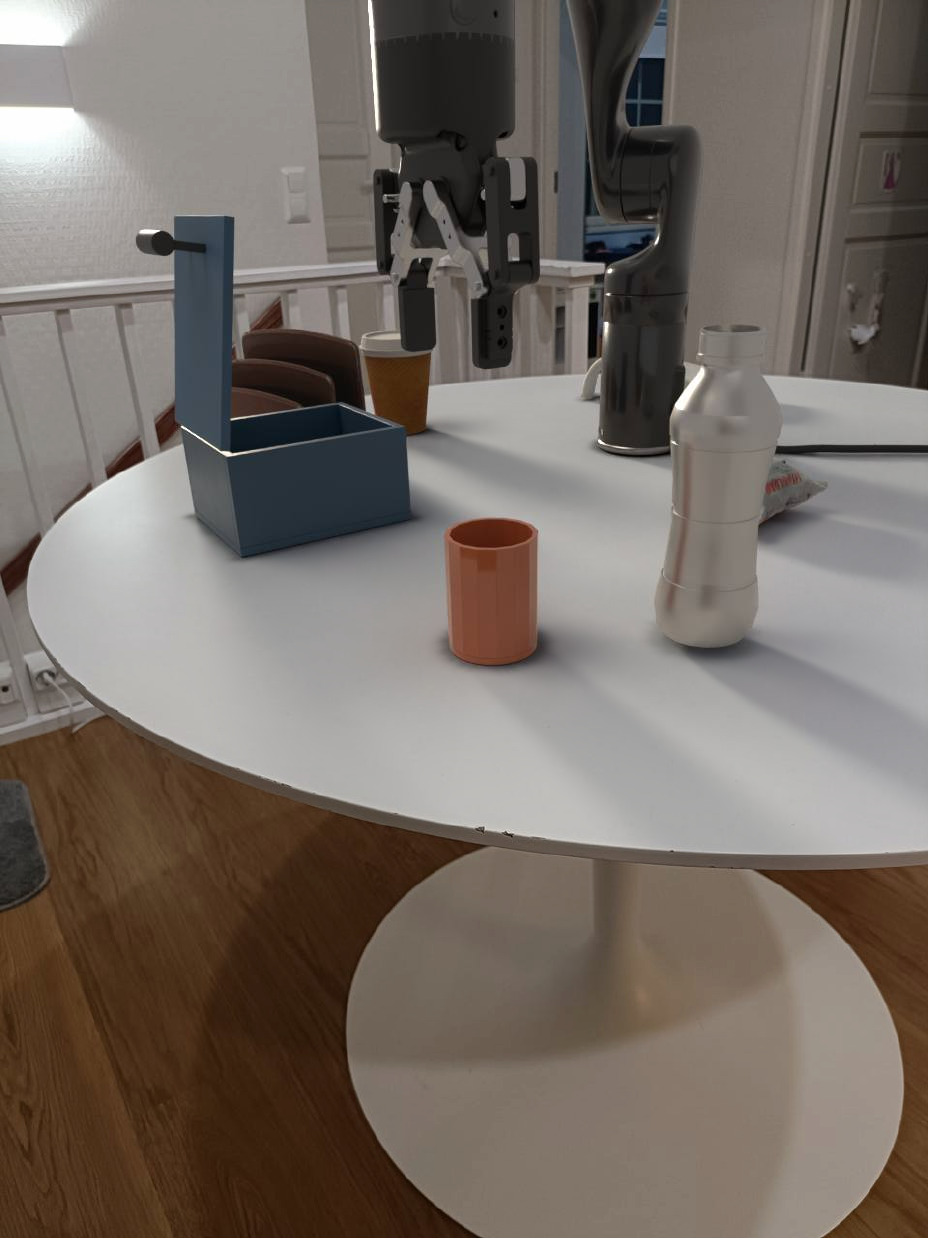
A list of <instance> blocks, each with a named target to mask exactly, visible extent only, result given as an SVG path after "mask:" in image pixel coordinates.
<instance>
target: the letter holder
mask: <svg viewBox="0 0 928 1238" xmlns="http://www.w3.org/2000/svg"><path fill="white" fill-rule="evenodd" d="M240 341H241V348H242V354H243V358H239V359H238V358H237V359H232V383H231V419H232V418H239V417H245V416H252V415H259V414H266V413H272V412H279V411H286V410H292V409H299V408H306V407H312V406H319V405H326V404H332V403H339V402H343V403H346V404H348V405H351V406H353V407H356V408H358V409H361V410H364V411H366V412H367V406H366V397H365V387H364V382H363V372H362V363H361V354H360V349H359V346H358V345H357V344H356V342H354V341H352V340H351V339H350V340H349V339H348V338H347V339H346V338H343V337H341V336H336V335H332V334H329V333H325V332H318V331H311V330H305V329H297V328H262V329H261V328H260V329H255V330H254V329H253V330H249V331H245V332H243V334H242V335H241V340H240Z"/></svg>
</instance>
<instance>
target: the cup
mask: <svg viewBox="0 0 928 1238" xmlns="http://www.w3.org/2000/svg"><path fill="white" fill-rule="evenodd" d="M443 540H444V559H445V560H444V563H445V564H444V565H445V585H446V586H445V587H446V609H447V634H448V635H447V636H448V641H449V648H450V649H449V650H450V651H451V653H452V654H453V655H455V657H457V658H458V659H460V660H463V661H465V662H468V663H470V664H475V665H484V666H500V665H508V664H509V665H510V664H513V663H517V662H520V661H522V660H524V659H525V660H526V659H527V658H528V657H530V656H531V655H532V654H533V653H534V652H535V651H536V649H537V647H538V634H539V633H538V631H539V630H538V629H539V628H538V627H539V626H538V625H539V624H538V620H539V617H538V616H539V613H538V612H539V611H538V610H539V608H538V607H539V530H538V529H537V528H536V527H535V526H534V525H533V524H531V523H529V522H527V521H523V520H521V519H520V520H519V519H516V518H508V517H480V518H471V519H468V520H467V519H466V520H464V521H460V522H457V523H455V524H453V525H451V526H450V527H448V528H446V530H445V533H444V539H443Z"/></svg>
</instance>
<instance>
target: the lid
mask: <svg viewBox="0 0 928 1238" xmlns="http://www.w3.org/2000/svg"><path fill="white" fill-rule="evenodd" d="M135 245H136V247H137V249H138V250H139V251H140V252H141V253H143V254H145V255H152V256H159V257H160V256H161V257H168V256H170V255H172V254H173V269H174V270H173V274H174V275H173V276H174V277H173V279H174V280H173V282H174V283H173V289H174V290H173V291H174V293H173V295H174V298H173V299H174V303H173V304H174V306H173V308H174V312H173V313H174V314H173V315H174V317H173V318H174V422H176V423H177V424H179V425H180V426H183V427H185V428H186V429H188V430H189V431H191V432H192V433H194V434H195V435H197V436H198V437H200V438H201V439H203V440H204V441H206V442H207V443H209V444H210V445H212V446H214V447H215V448H217V449H218V450H220V451H230V438H231V383H232V360H233V326H234V325H233V321H234V319H233V317H234V273H235V272H234V271H235V270H234V269H235V267H234V266H235V265H234V263H235V216H231V215H174V216H173V236H172V234H171V233H170V232H168V231H165V230H157V229H142V230H140V231H139V232H138V233H137V234H136V237H135Z"/></svg>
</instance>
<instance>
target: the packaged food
mask: <svg viewBox="0 0 928 1238" xmlns="http://www.w3.org/2000/svg"><path fill="white" fill-rule="evenodd" d="M786 462H787V461H786V459H785V460H784V459H774V458H773V461H772V464H771V468H770V471H769V475H768V478H767V482H766V487H765V493H764V498H763V503H762V506H761V508H760V512H761V514H760V519H759V525H761V524H762V523H764V522H766V521H767V520H769V519H771V518H772V517H775V516H778V515H781V514H782V513H783V514H784V512H786V511H788V510H791V508H794V507H796V506H799V505H801V504H804V503H806V502H808V501H810V499H812V498H813V497H814V496H817V495H818V494H820V493H823V492H824V491H825V490H827V488H828V486H829V482H828V481H827V480H823V479H812V478H811V477H809V476H808V475H805V474H804V473H803V472H802V471H799V470H798V469H796V468H794V467H792V466H790V465H789V464H787V463H786Z"/></svg>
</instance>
